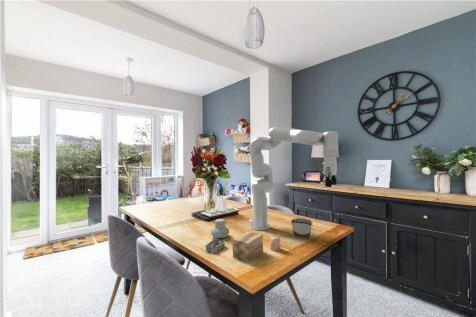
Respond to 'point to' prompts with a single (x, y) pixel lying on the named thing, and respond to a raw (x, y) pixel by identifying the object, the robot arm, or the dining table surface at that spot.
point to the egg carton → (211, 245)
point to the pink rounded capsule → (275, 243)
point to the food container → (301, 228)
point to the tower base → (248, 254)
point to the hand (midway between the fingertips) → (330, 185)
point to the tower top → (247, 242)
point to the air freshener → (220, 229)
